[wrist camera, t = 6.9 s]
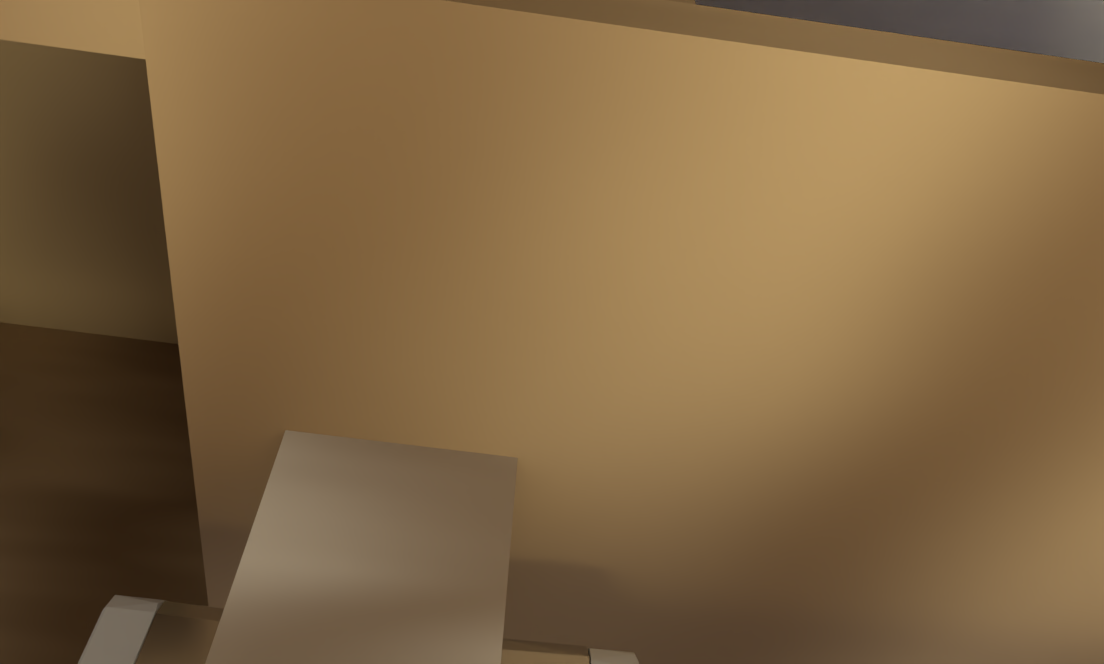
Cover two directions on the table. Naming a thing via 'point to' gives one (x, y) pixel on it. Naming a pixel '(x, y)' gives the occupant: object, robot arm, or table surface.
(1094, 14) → the table surface
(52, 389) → the carton
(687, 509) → the lid
